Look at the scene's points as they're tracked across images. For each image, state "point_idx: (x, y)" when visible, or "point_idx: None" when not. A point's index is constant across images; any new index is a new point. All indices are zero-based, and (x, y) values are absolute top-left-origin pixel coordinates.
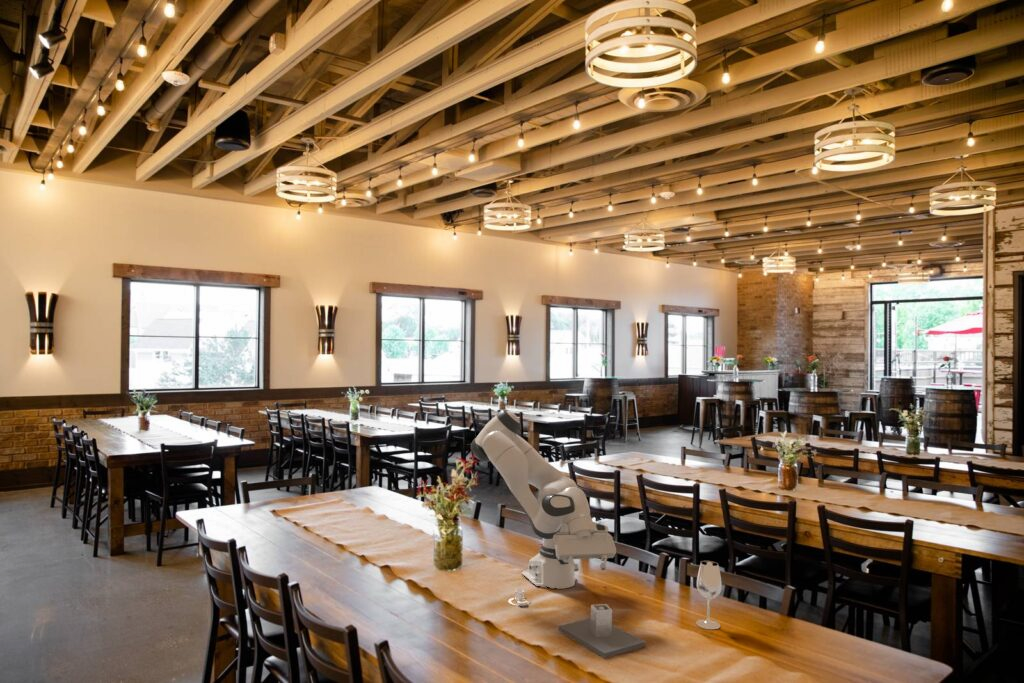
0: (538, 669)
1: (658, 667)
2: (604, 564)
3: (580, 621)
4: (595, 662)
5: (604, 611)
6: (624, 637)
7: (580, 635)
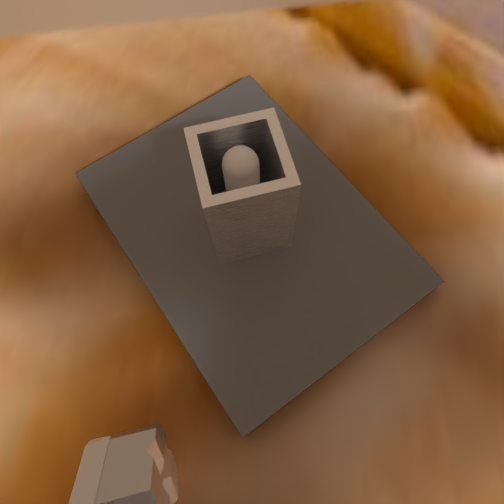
0: (453, 12)
1: (88, 60)
2: (95, 478)
3: (338, 350)
4: (281, 65)
5: (228, 120)
6: (150, 200)
7: (335, 195)
